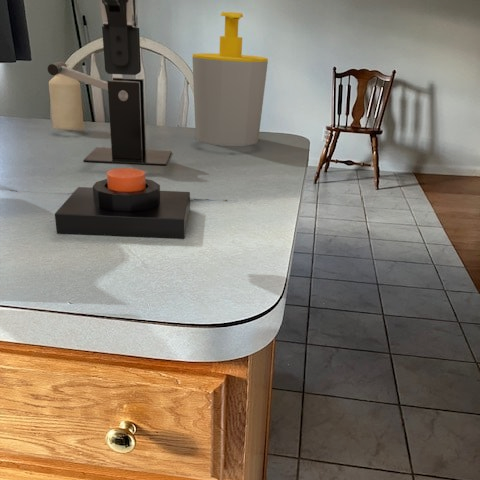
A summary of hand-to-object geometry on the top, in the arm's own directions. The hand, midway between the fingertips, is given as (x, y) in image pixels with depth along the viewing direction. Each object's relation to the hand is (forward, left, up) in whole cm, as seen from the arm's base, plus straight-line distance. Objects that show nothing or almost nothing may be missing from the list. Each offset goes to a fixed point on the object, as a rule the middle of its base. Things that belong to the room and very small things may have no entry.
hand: (123, 73), depth 53 cm
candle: (-19, +50, -15) cm, 56 cm away
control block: (0, 0, -15) cm, 15 cm away
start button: (0, 0, -11) cm, 11 cm away
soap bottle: (+11, +45, -15) cm, 49 cm away
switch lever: (-9, +27, -5) cm, 29 cm away
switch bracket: (-4, +27, -15) cm, 31 cm away
